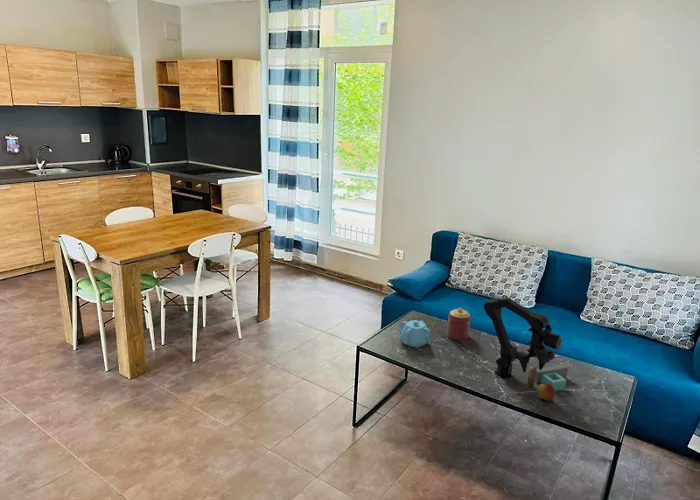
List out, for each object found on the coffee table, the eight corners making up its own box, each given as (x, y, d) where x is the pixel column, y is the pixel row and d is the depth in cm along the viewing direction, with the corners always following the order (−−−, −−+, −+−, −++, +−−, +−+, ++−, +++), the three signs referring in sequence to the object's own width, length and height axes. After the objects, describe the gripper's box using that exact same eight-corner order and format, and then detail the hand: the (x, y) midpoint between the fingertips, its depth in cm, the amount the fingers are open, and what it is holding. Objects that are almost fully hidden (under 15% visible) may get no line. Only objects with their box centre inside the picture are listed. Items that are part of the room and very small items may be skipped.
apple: (555, 399, 229) (558, 384, 227) (549, 406, 223) (552, 391, 221) (539, 392, 234) (542, 377, 231) (532, 399, 228) (535, 384, 226)
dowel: (529, 388, 237) (532, 369, 234) (525, 385, 240) (528, 366, 237) (534, 387, 238) (537, 369, 235) (530, 384, 241) (533, 365, 238)
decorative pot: (398, 336, 286) (399, 314, 282) (425, 336, 287) (427, 315, 283) (402, 349, 271) (403, 327, 267) (431, 350, 271) (432, 327, 268)
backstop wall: (536, 383, 242) (538, 372, 240) (532, 380, 245) (534, 369, 243) (566, 378, 248) (568, 367, 246) (562, 375, 250) (563, 364, 249)
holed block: (551, 391, 235) (552, 382, 234) (540, 383, 243) (541, 374, 241) (564, 389, 238) (566, 380, 236) (553, 380, 245) (554, 371, 244)
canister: (472, 339, 286) (476, 311, 281) (452, 341, 282) (455, 313, 277) (461, 330, 297) (464, 302, 293) (442, 332, 294) (445, 304, 289)
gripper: (531, 351, 222) (526, 382, 226) (565, 347, 228) (559, 377, 232) (516, 340, 232) (511, 370, 237) (548, 336, 238) (543, 365, 242)
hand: (532, 371), depth 237 cm, fingers open, 9 cm apart
